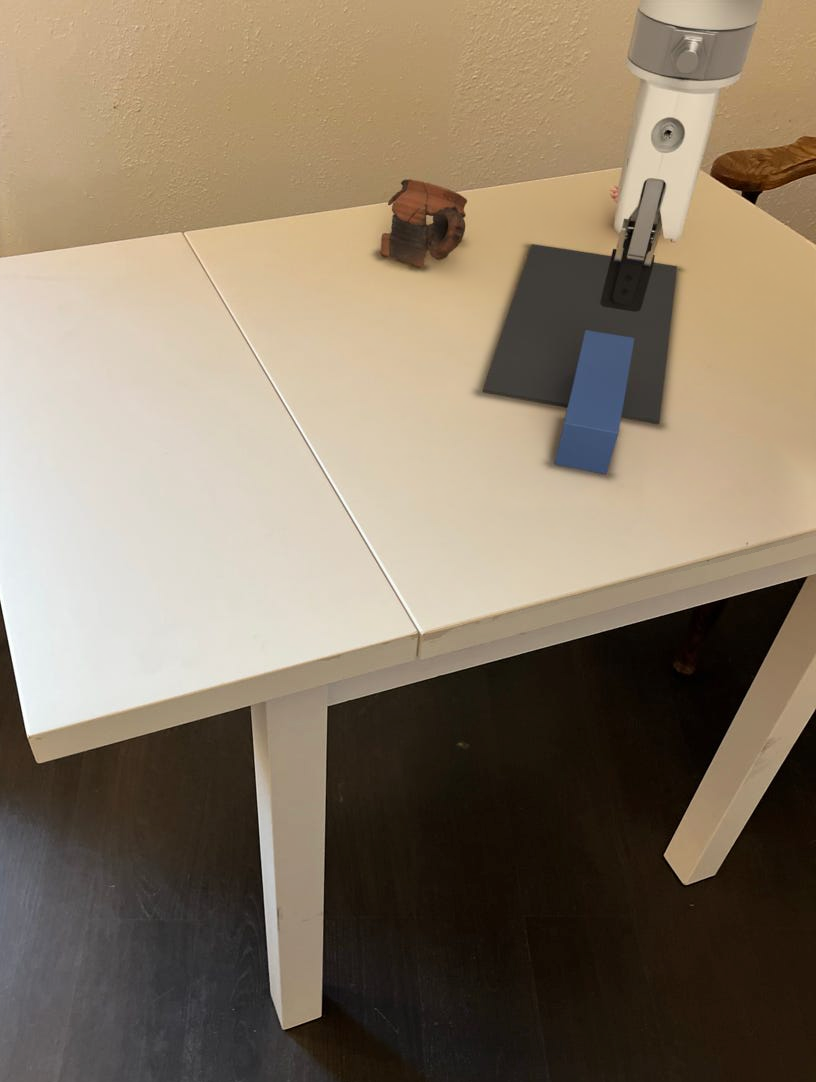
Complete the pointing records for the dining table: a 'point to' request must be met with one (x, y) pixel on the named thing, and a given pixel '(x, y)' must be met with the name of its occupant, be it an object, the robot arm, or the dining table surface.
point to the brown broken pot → (424, 223)
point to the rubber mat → (579, 331)
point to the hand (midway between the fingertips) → (620, 303)
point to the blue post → (595, 402)
